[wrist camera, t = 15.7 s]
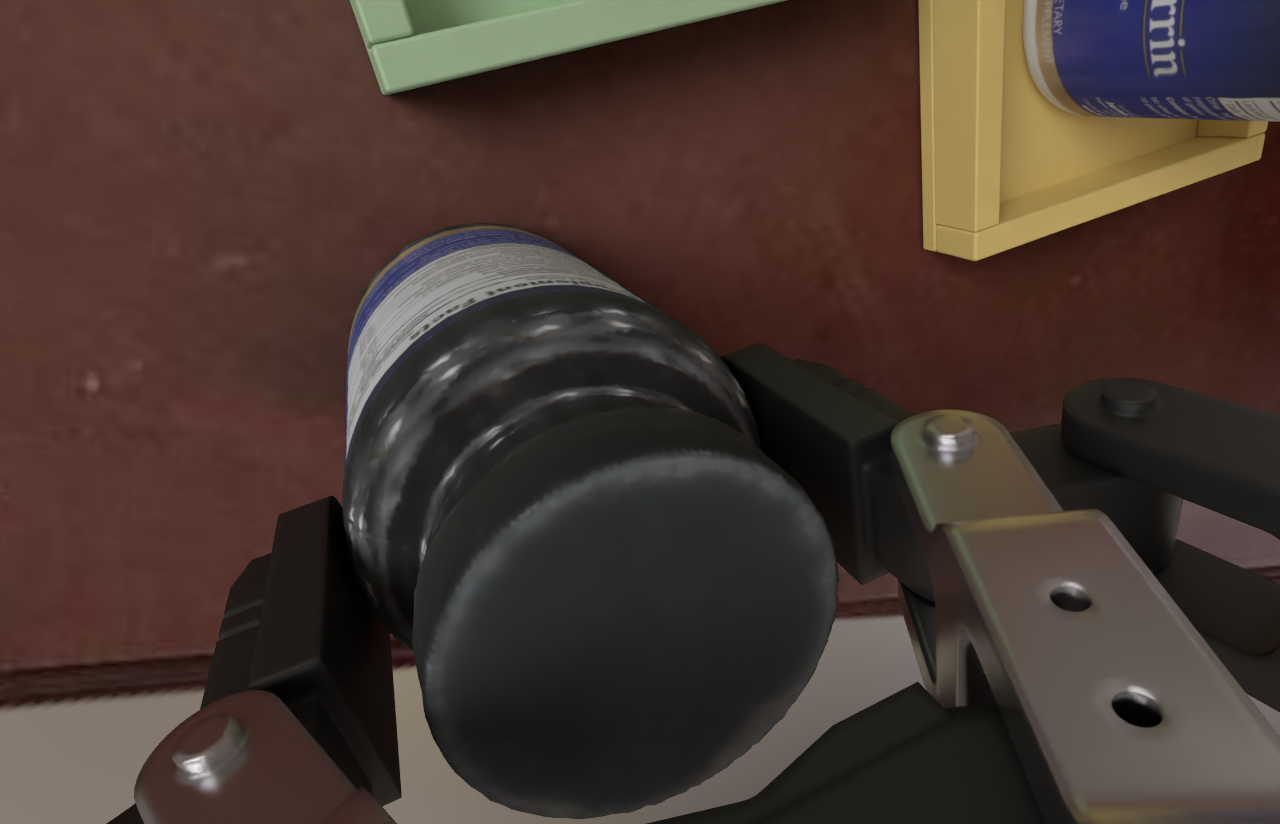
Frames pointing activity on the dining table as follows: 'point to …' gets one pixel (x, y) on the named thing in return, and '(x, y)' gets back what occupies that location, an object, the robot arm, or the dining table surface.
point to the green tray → (507, 32)
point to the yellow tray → (1036, 141)
